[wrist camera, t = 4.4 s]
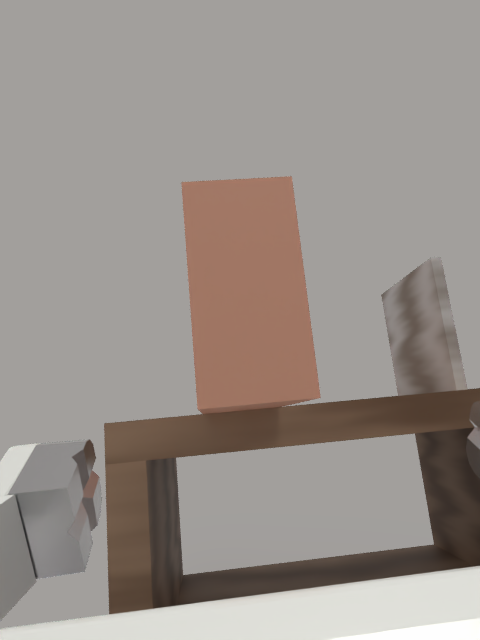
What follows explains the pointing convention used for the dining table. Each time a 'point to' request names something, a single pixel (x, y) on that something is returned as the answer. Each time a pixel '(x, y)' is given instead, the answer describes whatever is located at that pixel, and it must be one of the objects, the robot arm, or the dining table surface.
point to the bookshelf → (299, 429)
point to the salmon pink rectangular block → (247, 295)
